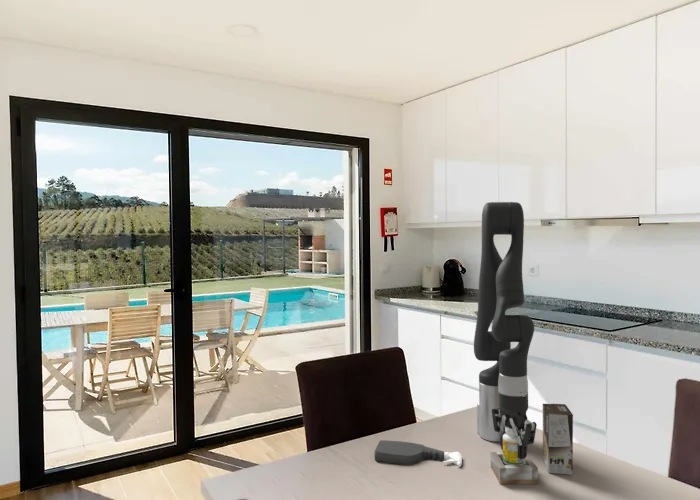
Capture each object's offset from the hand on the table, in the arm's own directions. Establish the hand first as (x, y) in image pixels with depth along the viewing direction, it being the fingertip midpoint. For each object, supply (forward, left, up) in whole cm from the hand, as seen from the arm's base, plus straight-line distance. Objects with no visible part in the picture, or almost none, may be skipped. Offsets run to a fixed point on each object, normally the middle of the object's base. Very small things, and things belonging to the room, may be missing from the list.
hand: (513, 453), depth 136 cm
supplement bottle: (0, 0, -3) cm, 3 cm away
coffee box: (+2, +14, -6) cm, 15 cm away
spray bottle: (-21, -16, -7) cm, 27 cm away
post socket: (0, 0, -6) cm, 6 cm away
